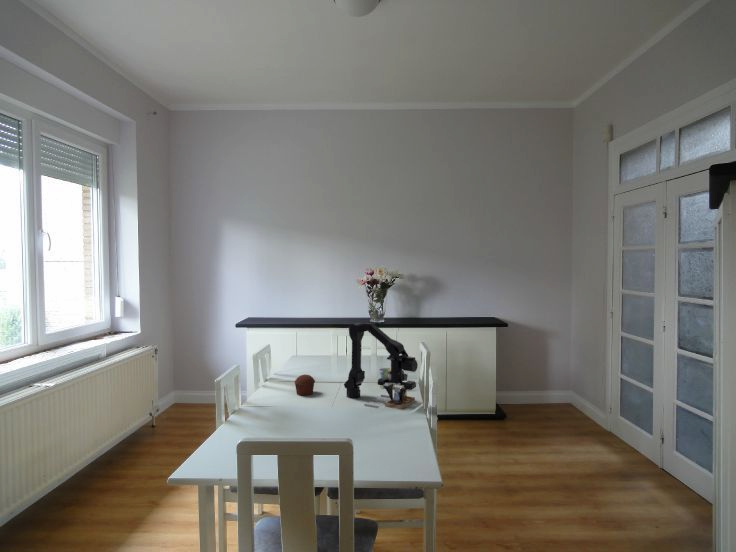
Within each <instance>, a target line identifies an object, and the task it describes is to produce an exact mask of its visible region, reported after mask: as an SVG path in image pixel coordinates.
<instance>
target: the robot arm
mask: <svg viewBox="0 0 736 552" xmlns="http://www.w3.org/2000/svg"><path fill="white" fill-rule="evenodd" d="M349 325H350V326H348V334H349V335H348V336H349V338H350V339H351V368H350V371H349V372H348V376H347V377H348V378H347V380H346V381H345V382H344V383H343V386H344V388H345V389H346V398H348V399H350V400H351V399H353V400H354V399H360V398H361V389H360V386H362V383H363V382H364V380H365V379H366V375H365V374H366V371H365V370H363V368H362V340H363V338H364V335H365V332H368V333H370V334H371V336H373V337H374V338H375V339H376V340H378V341H379V342H380V343H381V344H382V345H383V346H384V348H385V350H386V352H387V353H388V354H389V355H388V356H387V357H386V360H387V361H388V360H389V361H390V368H391V371H390V374H391V380H390V379H389V378H387V377H382V378H381V377H380V378H378V379H377V385H378V386H380V385H382V386H383V385H384V386H383V387H385V389H384V390H386V392H387V394H388V396H390V399H391V400H392V399H393V398H394V393H393V389H394V388H393V385H394V386H399V387H402V388H401V389H400V388H399V391H400V399H401V401H403V398H404V395H405V392H406V390H407V391H408V390H409V391H411V390H414V389H415V388H416V387H417V383H416V382H415V381H414V380H408V377H409V376H408V374H407V373H405V371H407V372H412V373H415V372H416V371H417V370H418V360H416V357H414V356H409V354H408V353H407V351H406V349H405V346H404V344H403V343H401V342H399V341H398V340H396V339H393V338H391V337H390V336H388V335H387V334H386V333H385V332H384V331H383V330H381V328H379V327H378V326H377V325H376V324H375V323H374V322H367V323H361V322H357V323H352V324H349ZM405 381H406V382H405Z"/></svg>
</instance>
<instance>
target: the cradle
mask: <svg viewBox="0 0 736 552" xmlns="http://www.w3.org/2000/svg"><path fill="white" fill-rule="evenodd" d="M390 400H391V399H390V396H389V395H387V394H380V396H379V397H377V398H372V400H371V401H370V402H368V403H364V404H363V406H364V407H368V408H373V409H378V408H379V407H381V406H383V405H385V403H386V402H388V401H390Z"/></svg>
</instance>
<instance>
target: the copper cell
mask: <svg viewBox="0 0 736 552" xmlns="http://www.w3.org/2000/svg"><path fill="white" fill-rule="evenodd" d="M401 388H402V386H399V390H400V389H401ZM407 396H408V389H407V390H406V392H405V395H404V398H403V400H404V401H407Z"/></svg>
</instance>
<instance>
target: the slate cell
mask: <svg viewBox="0 0 736 552" xmlns="http://www.w3.org/2000/svg"><path fill="white" fill-rule="evenodd" d="M393 398H394V401H393V404H396V405H400V404H401V399H400V389H399V390H397V389H396V390H394V393H393Z"/></svg>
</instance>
